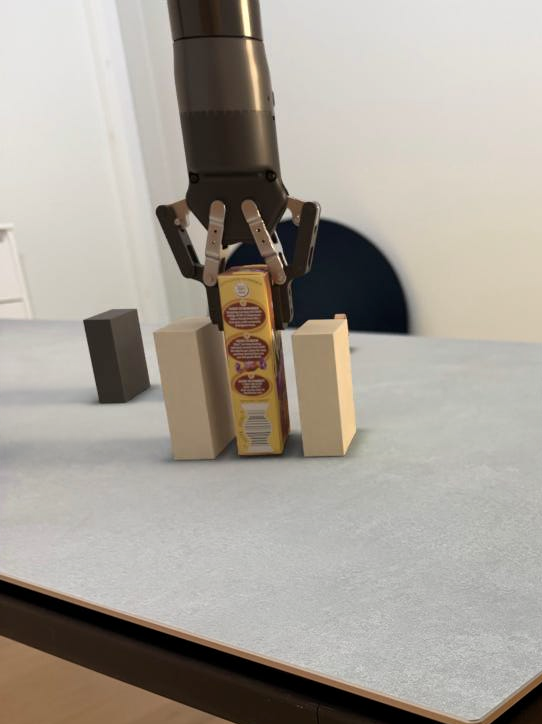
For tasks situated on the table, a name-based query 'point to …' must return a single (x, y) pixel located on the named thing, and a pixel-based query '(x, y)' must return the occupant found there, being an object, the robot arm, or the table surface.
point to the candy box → (254, 360)
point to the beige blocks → (213, 394)
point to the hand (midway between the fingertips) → (253, 328)
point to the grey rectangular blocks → (117, 355)
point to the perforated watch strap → (341, 316)
